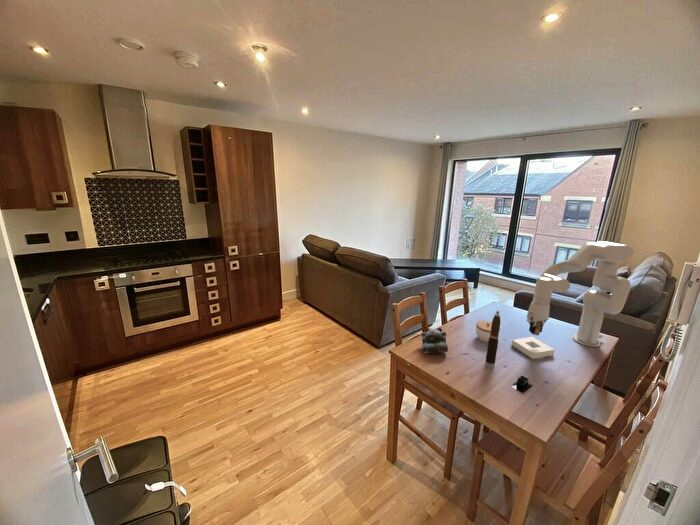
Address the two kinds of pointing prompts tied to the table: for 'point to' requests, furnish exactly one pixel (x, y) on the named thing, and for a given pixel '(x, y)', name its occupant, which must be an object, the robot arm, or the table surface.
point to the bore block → (532, 348)
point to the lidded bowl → (483, 330)
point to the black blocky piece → (522, 384)
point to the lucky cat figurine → (434, 341)
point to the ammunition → (493, 341)
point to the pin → (537, 328)
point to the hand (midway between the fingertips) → (535, 331)
